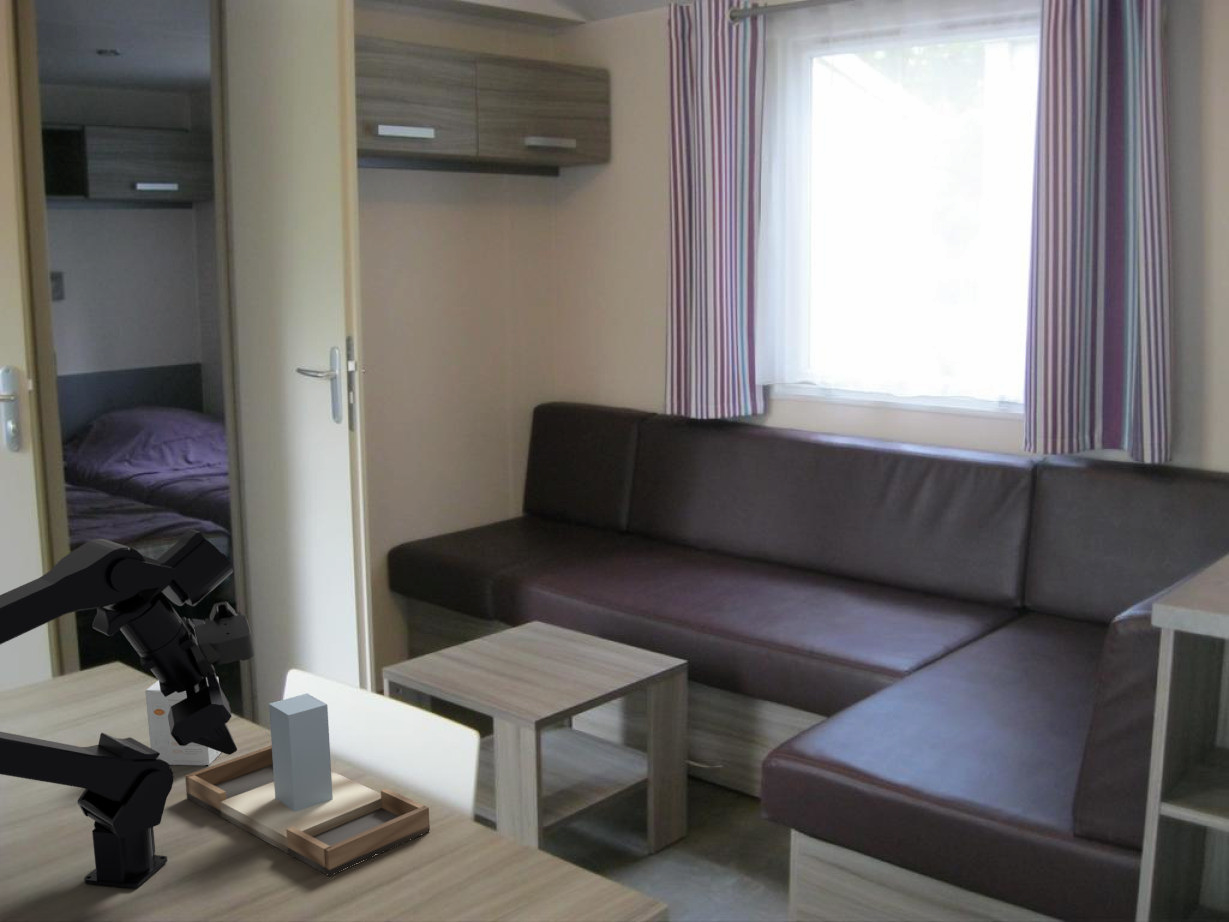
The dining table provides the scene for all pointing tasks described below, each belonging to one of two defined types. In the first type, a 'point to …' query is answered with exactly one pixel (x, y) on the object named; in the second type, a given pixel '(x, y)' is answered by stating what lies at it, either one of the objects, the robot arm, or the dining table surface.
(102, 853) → the robot arm
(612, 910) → the dining table surface
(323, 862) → the box
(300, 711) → the block
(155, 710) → the small box
